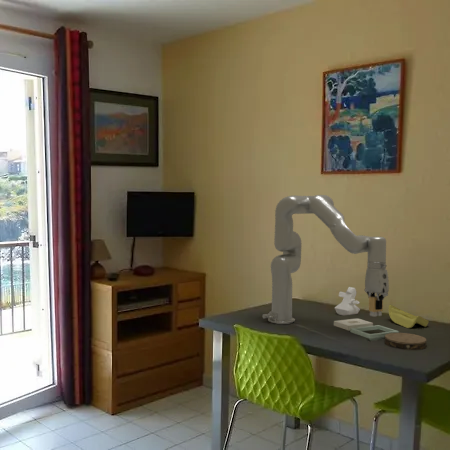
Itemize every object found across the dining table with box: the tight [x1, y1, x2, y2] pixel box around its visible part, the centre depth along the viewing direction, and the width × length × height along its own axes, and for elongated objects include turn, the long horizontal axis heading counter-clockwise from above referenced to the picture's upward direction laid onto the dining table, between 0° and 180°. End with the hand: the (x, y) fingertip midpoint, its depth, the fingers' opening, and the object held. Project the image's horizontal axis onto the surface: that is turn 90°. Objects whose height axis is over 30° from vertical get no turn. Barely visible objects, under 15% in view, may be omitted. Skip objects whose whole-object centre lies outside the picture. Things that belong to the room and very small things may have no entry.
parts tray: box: [349, 324, 400, 342], centre depth 227 cm, size 16×12×2 cm
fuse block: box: [333, 317, 374, 331], centre depth 239 cm, size 14×10×3 cm
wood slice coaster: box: [384, 332, 427, 351], centre depth 214 cm, size 16×16×3 cm
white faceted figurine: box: [334, 286, 361, 316], centre depth 267 cm, size 8×14×14 cm, turn 36°
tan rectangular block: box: [368, 295, 384, 317], centre depth 226 cm, size 5×3×8 cm, turn 117°
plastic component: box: [388, 304, 430, 329], centre depth 251 cm, size 20×7×10 cm
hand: (375, 308), depth 226 cm, fingers closed on tan rectangular block, 3 cm apart
